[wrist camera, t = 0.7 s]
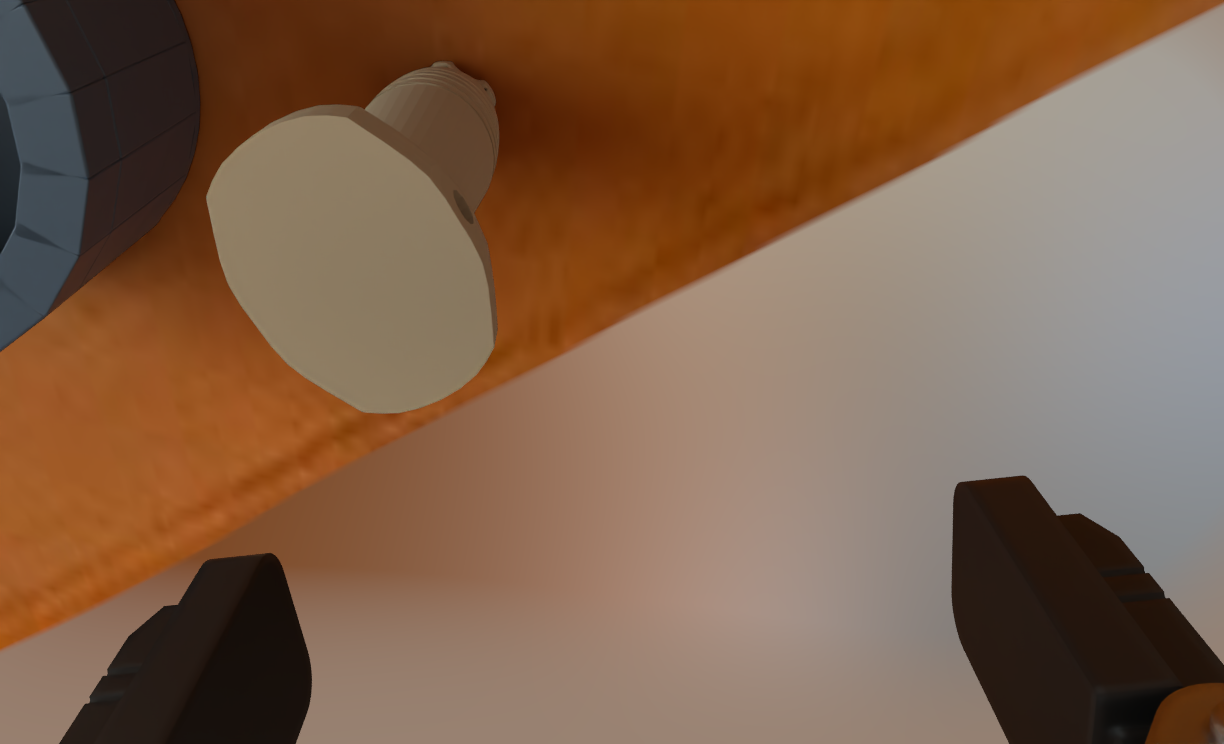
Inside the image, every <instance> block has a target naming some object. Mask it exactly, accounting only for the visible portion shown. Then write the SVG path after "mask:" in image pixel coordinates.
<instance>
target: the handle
mask: <svg viewBox="0 0 1224 744" xmlns="http://www.w3.org/2000/svg"><path fill="white" fill-rule="evenodd" d="M495 104H496V98H495V95H494V92H493V90H492V88H491V87H490V86H489V84H488V83H487V82H486V81H485V80H477V79H473V78H472V77H471V76H469V75H467V74H465V73H463V72H461V71H460V70H459V69H458V68H457V67H456V66H455V65H454V63H453V62H451V61H438V62H435V63H434V64H433V65H432V66H431V67H427V68H422V69H419V70H415V71H412V72H410V73H408V74H406V75H403V76H402V77H400V78H398V79H397V80H395V81H394V82H392V83H391V84H389V85H388V86H386V87H385V88H384V89H383V90H382V91H381V92H380V93H379V94H378V95H377V96H376V97H375V98H374V99H373V100H372V101H371V102H370V104H369V105H368V106H367V107H366V109H365V110H364V109H363V108H361V107H359V106H350V105H340V104H338V105H318V106H314V107H310V108H306V109H302V110H299V111H296V112H293V113H291V114H289V115H287V116H285V117H282V118H280V119H278V120H276V121H274V122H272V123H270V124H269V125H267V126H266V127H264V128H263V129H262V130H260V131H259V132H257V133H256V134H254V135H253V136H252V137H250V138H249V139H248V140H246V141H245V142H244V143H242V144H241V145H240V146H239V147H238V148H237V149H236V150H235V151H234V152H233V153H232V154H231V155H230V156H229V157H228V158H227V159H226V160H225V161H224V162H223V163H222V164H221V166H220V168H219V170H218V171H217V173H216V175H215V177H214V178H213V180H212V183H211V185H210V188H209V191H208V193H207V196H206V200H207V205H208V209H209V214H210V219H211V224H212V229H213V233H214V238H215V242H216V246H217V250H218V255H219V259H220V263H221V266H222V269H223V271H224V274H225V277H226V280H227V282H228V285H229V287H230V289H231V290H232V292H233V294H234V295H235V297H236V298H237V300H238V302H239V303H240V305H241V307H242V308H243V309H244V311H245V312H246V313H247V315H248V316H249V317H250V319H251V320H252V321H253V323H254V324H255V325H256V327H257V328H258V329H259V331H260V332H261V333H262V335H263V336H264V337H265V339H266V340H267V341H268V343H269V344H270V345H271V347H272V348H273V349H274V350H275V351H276V352H277V353H278V354H279V355H280V356H281V358H282V359H283V360H284V361H285V362H286V363H287V364H288V365H289V366H291V367H292V368H293V369H294V370H296V371H297V372H298V373H300V374H301V375H302V376H304V377H305V378H306V379H308V380H310V381H311V382H313V383H314V384H316V385H318V386H319V387H321V388H323V389H324V390H326V391H327V392H329V393H331V394H332V395H334V396H336V397H338V398H339V399H341V400H343V401H344V402H346V403H348V404H350V405H351V406H353V407H355V408H357V409H358V410H360V411H362V412H368V413H401V412H405V411H409V410H414V409H418V408H421V407H424V406H426V405H429V404H431V403H434V402H437V401H439V400H441V399H443V398H445V397H446V396H448V395H450V394H452V393H453V392H455V391H457V390H458V389H460V388H461V387H462V386H464V385H465V384H466V383H467V382H468V381H470V380H471V379H472V378H473V377H474V376H475V375H476V374H477V373H478V372H479V370H480V369H481V368H482V366H483V365H484V364H485V362H486V361H487V359H488V357H489V355H490V354H491V352H492V350H493V348H494V345H495V340H496V335H497V329H498V328H497V311H496V299H495V288H494V280H493V273H492V266H491V260H490V255H489V249H488V244H487V241H486V239H485V237H484V234H483V232H482V230H481V228H480V225H479V223H478V221H477V219H476V217H475V215H474V212H475V211H476V209H477V207H478V206H479V204H480V202H481V200H482V199H483V197H484V195H485V193H486V192H487V190H488V188H489V185H490V182H491V179H492V176H493V173H494V170H495V167H496V163H497V157H498V148H499V125H498V118H497V115H496V111H495V108H494V106H495Z"/></svg>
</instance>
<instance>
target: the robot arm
mask: <svg viewBox="0 0 1224 744" xmlns="http://www.w3.org/2000/svg"><path fill="white" fill-rule="evenodd" d="M952 546H953V547H952V606H953V613H954V618H955V624H956V628H957V632H958V635H959V639H960V641H961V644H962V646H963V649H964V651H965V653H966V655H967V657H968V659H969V661H970V663H971V665H972V667H973V670H974V671H975V674H976V676H977V678H978V680H979V681H980V684H981V686H982V688H983V690H984V692H985V694H986V696H987V698H988V701H989V702H990V704H991V706H992V709H993V711H994V713H995V715H996V717H997V719H998V721H999V723H1000V725H1001V727H1002V729H1003V732H1004V734H1005V736H1006V738H1007V740H1008V742H1009V744H1224V665H1223V663H1222V662H1221V661H1220V660H1219V659H1218V657H1217V656H1216V655H1215V654H1214V652H1213V651H1212V650H1211V649H1210V647H1209V646H1208V645H1207V644H1206V643H1205V641H1204V640H1203V639H1202V638H1201V636H1200V635H1199V634H1198V633H1197V631H1196V630H1195V629H1194V628H1193V627H1192V625H1191V624H1190V623H1189V622H1188V621H1187V619H1186V618H1185V617H1184V615H1182V613H1181V612H1180V611H1179V609H1178V608H1177V607H1176V606H1175V605H1174V603H1173V602H1172V601H1171V600H1170V598H1165V596H1164V591H1163V590H1162V589H1161V587H1160V586H1159V585H1158V584H1157V582H1156V581H1155V580H1154V579H1153V577H1152V576H1151V575H1150V574H1149V573H1145V571H1144V567H1143V565H1142V564H1141V563H1140V562H1139V560H1138V559H1137V558H1136V557H1135V556H1134V554H1133V553H1132V552H1131V551H1130V549H1129V548H1128V547H1127V546H1126V544H1125V543H1124V542H1123V541H1122V540H1121V538H1120V537H1119V536H1117V535H1115V534H1114V533H1111V532H1110V531H1108V530H1107V529H1105V528H1103V527H1102V526H1100V525H1099V524H1097V523H1095V522H1094V521H1092V520H1090V519H1088V518H1087V517H1085V516H1084V515H1082V514H1080V513H1079V514H1069V515H1061V516H1057V515H1056V514H1055V513H1054V511H1053V510H1052V509H1051V507H1050V506H1049V505H1048V503H1047V502H1046V500H1045V499H1044V498H1043V496H1042V495H1041V494H1040V492H1039V491H1038V490H1037V488H1036V487H1035V485H1034V484H1033V483H1032V482H1031V480H1030V479H1029V478H1027V477H1026V476H1014V477H1006V478H995V479H986V480H976V481H967V482H960V483H958V484H957V486H956V488H955V492H954V502H953V545H952ZM107 670H108V674H107V676H103V677H102V678H101V680H100V681H99V683H98V684H97V686H96V688H95V689H94V691H93V692H92V694H91V695H90V703H88V704H85V705H84V706H83V708H82V709H81V711H80V712H79V714H78V715H77V717H76V719H75V720H74V722H73V723H72V725H71V726H70V728H69V729H68V731H67V732H66V734H65V736H64V737H63V739H62V740H61V742H60V743H59V744H296V741H297V739H298V736H299V733H300V730H301V728H302V725H303V722H304V719H305V717H306V714H307V711H308V708H309V704H310V698H311V687H312V674H311V664H310V659H309V654H308V650H307V647H306V644H305V641H304V637H303V634H302V630H301V627H300V624H299V620H298V617H297V614H296V610H295V607H294V604H293V601H292V597H291V594H290V591H289V587H288V584H287V580H286V577H285V574H284V571H283V568H282V565H281V563H280V561H279V560H278V558H277V557H276V556H275V555H273V554H272V553H265V554H256V555H247V556H237V557H227V558H218V559H210V560H207V561H206V562H205V563H204V564H203V565H202V566H201V568H200V569H199V571H198V573H197V574H196V576H195V578H194V579H193V581H192V582H191V584H190V586H189V587H188V589H187V591H186V592H185V594H184V596H183V597H182V599H181V601H180V602H179V604H178V605H171V606H164V607H163V608H162V609H160V611H158V612H157V613H156V614H155V615H153V616H152V617H151V618H150V619H149V620H147V621H146V622H145V623H144V624H143V625H142V626H140V627H139V628H138V629H137V630H136V631H135V632H133V633H132V634H131V635H130V636H129V637H128V638H127V640H126V641H125V643H124V644H123V646H122V647H121V649H120V651H119V652H118V654H117V655H116V657H115V658H114V660H113V661H112V663H111V664H110V666H109V668H108V669H107Z"/></svg>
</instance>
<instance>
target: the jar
mask: <svg viewBox="0 0 1224 744" xmlns="http://www.w3.org/2000/svg"><path fill="white" fill-rule="evenodd" d="M199 118H200V94H199V83H198V73H197V68H196V64H195V59H194V54H193V50H192V45H191V42H190V39H189V36H188V34H187V31H186V28H185V25H184V22H183V19H182V16H181V14H180V12H179V10H178V8H177V6H176V4H175V1H174V0H0V352H1V351H2V350H3V349H5V348H6V347H7V346H9V345H10V344H11V343H13V342H14V341H15V340H16V339H18V338H19V337H20V336H22V335H23V334H24V333H26V332H27V331H28V330H29V329H31V328H32V327H33V326H35V325H36V324H37V323H39V322H40V321H41V320H42V319H44V318H45V317H46V316H47V315H49V314H50V313H51V312H52V311H53V310H55V309H56V308H57V307H58V306H59V305H61V304H62V303H63V302H64V301H65V300H67V299H68V298H69V297H70V296H71V295H73V294H74V293H75V292H76V291H78V290H79V289H80V288H81V287H82V286H84V285H85V284H86V283H87V282H88V281H90V280H91V279H92V278H93V277H94V276H96V275H97V274H98V273H99V272H100V271H102V270H103V269H104V268H105V267H106V266H108V265H109V264H110V263H111V262H112V261H114V260H115V259H116V258H117V257H118V256H120V255H121V254H122V253H123V252H124V251H126V250H127V249H128V248H129V247H130V246H132V245H133V244H134V243H135V242H136V241H138V240H139V239H140V238H141V237H142V236H144V235H145V234H146V233H147V232H148V231H150V230H151V229H152V228H153V227H154V226H156V224H157V223H158V222H159V220H160V219H161V217H162V216H163V214H164V213H165V212H166V210H167V209H168V208H169V206H170V205H171V204H172V202H173V201H174V200H175V198H176V196H177V194H178V192H179V190H180V188H181V187H182V185H183V183H184V181H185V179H186V177H187V174H188V171H189V168H190V165H191V162H192V159H193V157H194V153H195V148H196V142H197V137H198V132H199Z"/></svg>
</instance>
